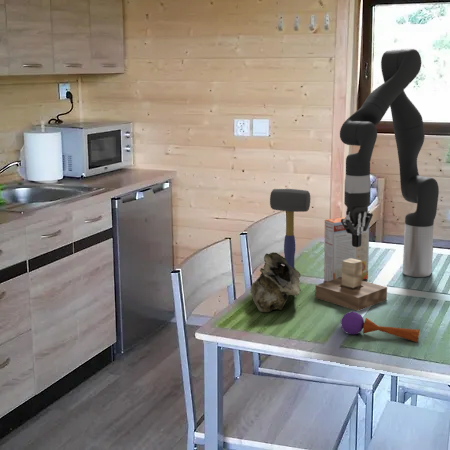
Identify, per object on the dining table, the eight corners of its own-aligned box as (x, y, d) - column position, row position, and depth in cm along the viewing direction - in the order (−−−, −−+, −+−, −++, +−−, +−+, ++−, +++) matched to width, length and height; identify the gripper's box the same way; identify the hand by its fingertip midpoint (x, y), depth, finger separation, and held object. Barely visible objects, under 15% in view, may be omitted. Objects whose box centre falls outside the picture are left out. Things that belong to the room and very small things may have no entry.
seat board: (344, 288, 223) (344, 275, 222) (386, 299, 211) (387, 287, 210) (315, 297, 213) (315, 285, 213) (357, 310, 202) (358, 297, 201)
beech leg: (349, 295, 215) (350, 258, 213) (361, 299, 212) (362, 260, 209) (340, 299, 212) (342, 260, 210) (352, 302, 209) (353, 263, 207)
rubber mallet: (268, 278, 233) (268, 189, 226) (274, 272, 240) (275, 186, 233) (304, 282, 229) (306, 191, 222) (310, 275, 236) (311, 187, 229)
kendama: (418, 332, 176) (339, 316, 182) (415, 352, 178) (338, 336, 185) (421, 320, 181) (344, 305, 187) (418, 339, 183) (343, 324, 190)
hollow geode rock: (280, 299, 227) (249, 265, 227) (309, 275, 223) (278, 240, 223) (263, 328, 200) (228, 289, 200) (296, 300, 196) (259, 261, 196)
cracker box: (357, 274, 236) (359, 214, 232) (368, 279, 231) (370, 217, 226) (322, 280, 231) (324, 218, 226) (333, 285, 225) (334, 222, 221)
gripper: (360, 184, 213) (359, 240, 217) (333, 191, 204) (332, 248, 208) (381, 187, 207) (380, 244, 211) (353, 194, 198) (353, 253, 203)
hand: (356, 246), depth 210 cm, fingers closed
